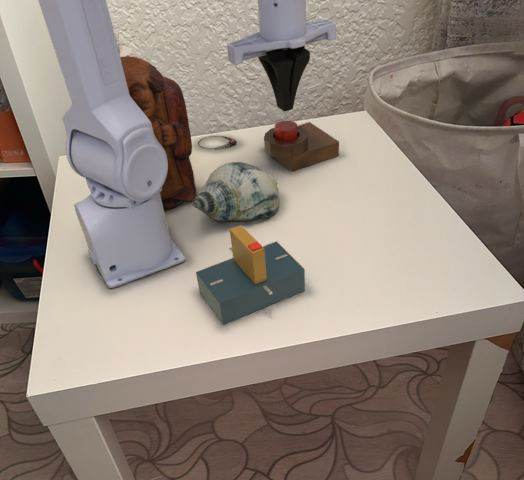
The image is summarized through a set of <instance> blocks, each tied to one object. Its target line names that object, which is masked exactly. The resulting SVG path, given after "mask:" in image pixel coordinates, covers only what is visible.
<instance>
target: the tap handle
mask: <svg viewBox="0 0 524 480" xmlns="http://www.w3.org/2000/svg"><path fill="white" fill-rule="evenodd" d="M229 237H230V244H231V247H232V252H233V253H232V252H231V253H232V258H233V260H234V261H235V262H236V264H237V265H238V266H239V267H240V268H241V269H242V270H243V271H244V273H245V274H246V275H247V276H248V277H249V278H250V279H251V280H252V282H253V283H254V284H255V285H256V284H258V283H261V282H263V281H266V280H267V276H266V263H265V250H264V248H263V245H261V243H260V242H259V241H258V240H257V239H255V237H253V235H252V234H250V232H249V231H248V230H247V229H246V228H245V227H244V226H243V225H237V226H235V227H232V228H229Z"/></svg>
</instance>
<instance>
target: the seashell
mask: <svg viewBox="0 0 524 480" xmlns="http://www.w3.org/2000/svg"><path fill="white" fill-rule="evenodd" d="M279 195H280V191H279V188H278V181H277V178H276V177H275V176H274V175H273V174H270V173H266V172H264V171H263V170H262V169H260V168H258V167H257V166H255V165H253V164H250V163H247V162H241V161H232V162H228V163H224V164H222V165H219V166H218V167H217V168H216V169H215V170H213V172H211V173H210V175H209V176H208V178H207V180H206V181H205V184H204V185H203V186H202V187H201V188H200V190H199V191H198V194H196V197H195V200H194V201H193V203H192V206H193V207H194V208H195V209H197V210H199V211H201V212H202V213H204V214H205V215H208V216H209V217H210V218H211V219H212V220H214V221H217V222H221V223H227V222H231V221H235V222H237V221H238V222H239V221H243V222H245V221H252V220H259V219H265V218H268V217H269V218H270V217H273V216H274V215H275V213H276V212H277V211H278V209H279V205H280V196H279Z"/></svg>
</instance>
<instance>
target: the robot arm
mask: <svg viewBox="0 0 524 480" xmlns="http://www.w3.org/2000/svg"><path fill="white" fill-rule="evenodd" d="M37 1H38V4H39V7H40V10H41V13H42V16H43V19H44V22H45V25H46V28H47V31H48V34H49V37H50V40H51V43H52V46H53V49H54V52H55V56H56V58H57V61H58V62H57V63H58V65H59V68H60V71H61V73H62V78H63V80H64V84H65V86H66V90H67V92H68V94H69V95H68V96H69V98H70V101H71V105H70V107H69V108H68V109H67V110H66V111H65V113H64V114H63V116H62V119H61V120H62V123H63V125H64V128H65V129H64V130H65V132H66V133H65V134H66V141H65V143H66V144H65V154H66V159H67V162H68V164H69V166H70V168H71V169H72V170H73V171H74V172H75V174H77V175H78V176H80V177H82V178H84V179H85V181H86V184H87V187H88V189H89V192H90V194H89V195H88V196H87V197H86V198H84V199H82V200H80V201H78V202H76V203H74V205H73V206H74V211H75V214H76V217H77V220H78V223H79V225H80V228H81V231H82V234H83V236H84V239H85V243H86V245H87V248H88V249H87V251H88V255H89V257H90V260H91V262H92V264H93V265H94V266H96V268H97V269H98V271H99V273H100V275H101V277H102V278H103V280H104V282H105V283H106V287H108V288H109V289H113V288H116V287H119V286H122V285H124V284H125V285H126V284H127V283H130V282H132V281H135V280H138V279H140V278H144V277H146V276H149V275H152V274H154V273H157V272H160V271H162V270H164V269H168V268H170V267H173V266H175V265H178V264H181V263H184V262H185V261H186V257H185V255H184V254H183V253H182V251H181V250H180V248H179V247H178V246H177V245H176V243H175V242H174V241H173V239H172V238H171V236H170V232H169V227H168V222H167V219H166V213H165V210H164V209H163V204H162V200H161V195H160V192H161V191H162V186H163V184H164V182H165V180H166V176H167V171H168V160H167V155H166V153H165V150H164V149H163V147H162V146H161V145H160V143H159V142H158V141H157V139H156V137H155V135H154V132H153V128H152V124H151V122H150V120H149V119H148V118H147V116H146V115H145V114H144V113H143V111H142V110H141V109H140V108H139V107H138V105H137V104H136V103H135V102H134V100H133V99H132V98H131V96H130V94H129V90H128V86H127V82H126V78H125V74H124V70H123V66H122V62H121V58H120V54H119V50H118V46H117V42H116V38H115V34H114V33H115V30H114V27H113V26H114V25H113V22H112V18H111V14H110V11H109V7H108V3H107V0H37ZM257 10H258V11H257V13H258V29H259V31H256V32H255V33H252V34H250V35H248V36H244V37H243V38H240V39H239V40H236V41H235V40H234V41H232V42H229V43H227V44H226V49H227V58H228V61H229V62H230V63H231V64H232V65H235V66H238V65H241V64H243V62H244V61H248V60H252V59H256V58H257V59H258V61H259V62H260V65H262V67H263V70H264V72H265V73H266V76H267V78H268V80H269V82H270V86H271V88H272V92H273V95H274V99H275V103H276V107H277V108H278V109H279V110H281V111H283V112H288V111H292V110H293V109H294V105H295V100H296V96H297V92H298V88H299V85H300V82H301V79H302V76H303V74H304V71H305V69H306V68H307V65H308V64H309V62H310V61H311V51H310V50H308V49H306V45H309V44H313V43H317V42H318V43H319V42H321V41H333V40H336V38H337V37H336V35H337V22H336V21H334V20H331V19H329V18H325V19H321V20H316V21H307V0H257Z"/></svg>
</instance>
